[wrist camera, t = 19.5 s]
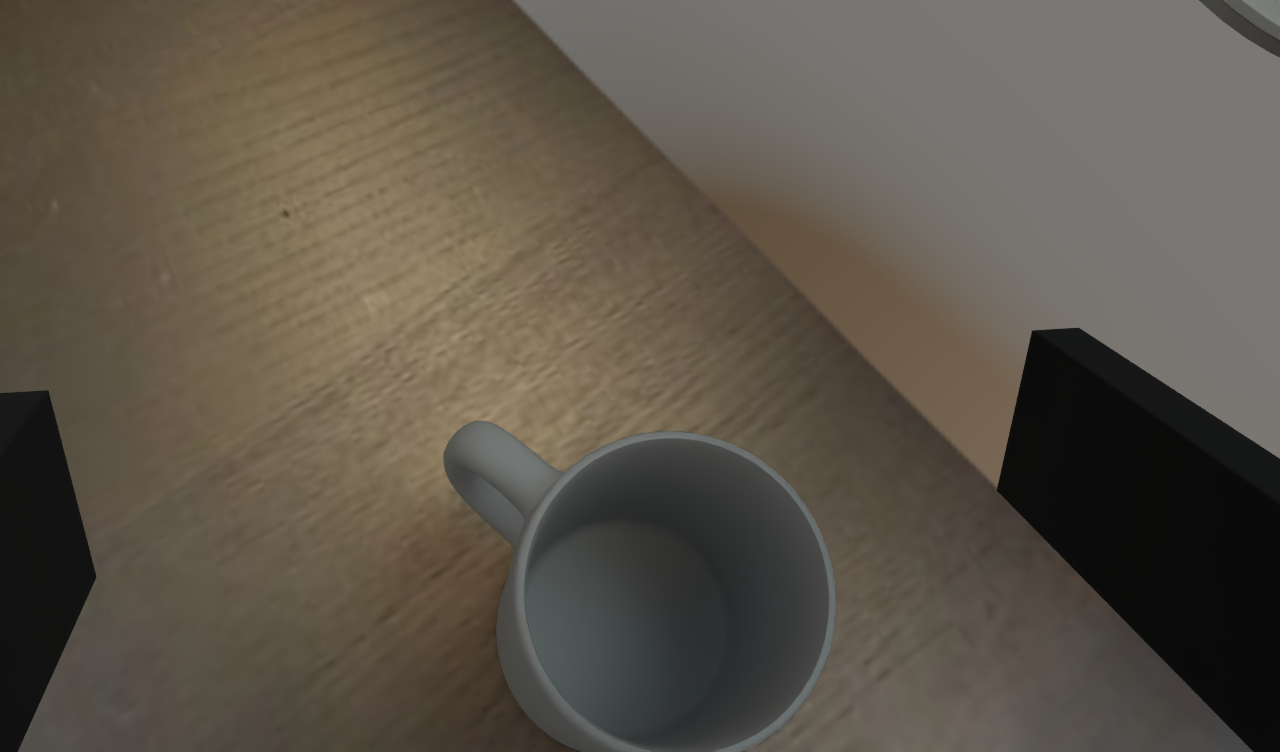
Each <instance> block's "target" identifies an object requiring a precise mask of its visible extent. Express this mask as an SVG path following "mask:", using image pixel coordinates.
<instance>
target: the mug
mask: <svg viewBox="0 0 1280 752" xmlns="http://www.w3.org/2000/svg"><path fill="white" fill-rule="evenodd" d="M443 458H444V467H445V471H446V474H447V477H448V479H449V480H450V482H451V484H452V486H453V487H454V489H455V490H456V491H457V493H458V494H459V495H460V496H461V497H462V499H463V500H464V501H465V502H466V503H467V504H468V505H469V506H470V507H471V508H472V509H473V510H474V511H475V512H476V513H477V514H478V515H479V516H480V517H482V518H483V519H484V520H485V521H486V522H487V523H488V524H489V525H491V526H492V527H493V528H494V529H495V530H496V531H497V532H498V533H500V534H501V535H502V536H503V537H504V538H505V539H506V540H507V541H508V542H509V543H510V544H511V545H512V546H513V547H514V549H515V552H514V556H513V560H512V562H511V565H510V568H509V572H508V576H507V579H506V583H505V585H504V588H503V592H502V595H501V599H500V603H499V608H498V615H497V628H496V639H497V648H498V655H499V659H500V663H501V667H502V671H503V674H504V676H505V679H506V681H507V684H508V687H509V688H510V690H511V692H512V694H513V696H514V698H515V699H516V701H517V703H518V704H519V705H520V707H521V708H522V709H523V711H524V712H525V713H526V715H527V716H528V717H529V718H530V719H531V720H532V721H533V722H534V723H535V724H536V725H537V726H538V727H539V728H540V729H541V730H543V731H544V732H545V733H546V734H548V735H549V736H550V737H552V738H553V739H555V740H557V741H558V742H560V743H562V744H563V745H565V746H567V747H570V748H572V749H574V750H577V751H579V752H745V751H747V750H748V749H750V748H752V747H754V746H756V745H758V744H760V743H761V742H763V741H764V740H766V739H767V738H769V737H770V736H771V735H773V734H774V733H776V732H777V731H778V730H779V729H780V728H781V727H782V726H783V725H785V724H786V723H787V722H788V721H789V720H790V719H791V718H792V717H793V716H794V715H795V713H796V712H797V711H798V710H799V708H800V707H801V706H802V705H803V703H804V702H805V701H806V700H807V698H808V696H809V695H810V693H811V691H812V690H813V688H814V686H815V685H816V683H817V681H818V679H819V677H820V675H821V672H822V670H823V668H824V666H825V663H826V661H827V657H828V654H829V650H830V647H831V643H832V639H833V632H834V626H835V619H836V591H835V580H834V573H833V569H832V564H831V560H830V556H829V553H828V550H827V547H826V544H825V541H824V538H823V536H822V534H821V532H820V530H819V528H818V525H817V523H816V521H815V519H814V517H813V516H812V514H811V513H810V511H809V510H808V508H807V506H806V505H805V503H804V502H803V500H802V499H801V498H800V497H799V495H798V494H797V493H796V492H795V490H794V489H793V488H792V487H791V486H790V484H789V483H788V482H786V481H785V480H784V479H783V478H782V477H781V476H780V475H779V474H778V473H777V472H776V471H775V470H774V469H772V468H771V467H770V466H768V465H767V464H766V463H764V462H763V461H762V460H760V459H759V458H758V457H756V456H754V455H752V454H751V453H749V452H747V451H745V450H744V449H742V448H740V447H738V446H735V445H733V444H730V443H728V442H726V441H723V440H720V439H717V438H713V437H709V436H706V435H702V434H695V433H689V432H682V431H659V432H650V433H641V434H637V435H633V436H629V437H625V438H622V439H619V440H617V441H614V442H611V443H609V444H606V445H604V446H602V447H600V448H598V449H596V450H595V451H593V452H591V453H589V454H587V455H586V456H584V457H583V458H582V459H580V460H579V461H578V462H576V463H575V464H574V465H572V466H571V467H570V468H568V469H567V470H566V471H565V472H561V471H558V470H557V469H555V468H554V467H552V466H551V465H550V464H548V463H547V462H546V461H544V460H543V459H542V458H541V457H540V456H538V455H537V454H536V453H535V452H533V451H532V450H531V449H530V448H528V447H527V446H526V445H525V444H523V443H522V442H521V441H520V440H518V439H517V438H516V437H514V436H513V435H512V434H510V433H509V432H507V431H506V430H504V429H503V428H501V427H499V426H498V425H496V424H493V423H491V422H487V421H473V422H471V423H469V424H467V425H465V426H463V427H462V428H460V429H459V430H458V431H457V432H456V433H455V434H454V435H453V437H452V438H451V439H450V440H449V442H448V444H447V446H446V449H445V451H444V457H443Z"/></svg>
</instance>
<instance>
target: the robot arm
mask: <svg viewBox="0 0 1280 752" xmlns="http://www.w3.org/2000/svg"><path fill="white" fill-rule="evenodd" d="M997 491H998V492H999V493H1000V494H1001V495H1002V496H1003V497H1004V498H1005V499H1006V500H1007V501H1008V502H1009V503H1010V504H1011V505H1012V506H1013V508H1014V509H1015V510H1016V511H1017V512H1018V513H1019V514H1020V515H1021V516H1022V517H1023V518H1024V519H1025V520H1026V521H1027V522H1028V523H1029V524H1030V525H1031V526H1032V527H1033V528H1034V529H1035V530H1036V531H1037V532H1038V533H1039V534H1040V535H1041V536H1042V537H1043V538H1044V539H1045V540H1046V541H1047V542H1048V543H1049V544H1050V545H1051V546H1052V547H1053V548H1054V549H1055V550H1056V551H1057V552H1058V553H1059V554H1060V555H1061V556H1062V557H1063V558H1064V559H1065V560H1066V561H1067V562H1068V563H1069V564H1070V565H1071V567H1072V568H1073V569H1074V570H1075V571H1076V572H1077V573H1078V574H1079V575H1080V576H1081V577H1082V578H1083V579H1084V580H1085V581H1086V582H1087V583H1088V584H1089V585H1090V586H1091V587H1092V588H1093V589H1094V590H1095V591H1096V592H1097V593H1098V594H1099V595H1100V596H1101V597H1102V598H1103V599H1104V600H1105V601H1106V602H1107V603H1108V604H1109V605H1110V606H1111V607H1112V608H1113V609H1114V610H1115V611H1116V612H1117V613H1118V614H1119V615H1120V616H1121V617H1122V618H1123V619H1124V620H1125V621H1126V622H1127V623H1128V624H1129V626H1130V627H1131V628H1132V629H1133V630H1134V631H1135V632H1136V633H1137V634H1138V635H1139V636H1140V637H1141V638H1142V639H1143V640H1144V641H1145V642H1146V643H1147V644H1148V645H1149V646H1150V647H1151V648H1152V649H1153V650H1154V651H1155V652H1156V653H1157V654H1158V655H1159V656H1160V657H1161V658H1162V659H1163V660H1164V661H1165V662H1166V663H1167V664H1168V665H1169V666H1170V667H1171V668H1172V669H1173V670H1174V671H1175V672H1176V673H1177V674H1178V675H1179V676H1180V677H1181V678H1182V679H1183V680H1184V681H1185V682H1186V683H1187V685H1188V686H1189V687H1190V688H1191V689H1192V690H1193V691H1194V692H1195V693H1196V694H1197V695H1198V696H1199V697H1200V698H1201V699H1202V700H1203V701H1204V702H1205V703H1206V704H1207V705H1208V706H1209V707H1210V708H1211V709H1212V710H1213V711H1214V712H1215V713H1216V714H1217V715H1218V716H1219V717H1220V718H1221V719H1222V720H1223V721H1224V722H1225V723H1226V724H1227V725H1228V726H1229V727H1230V728H1231V729H1232V730H1233V731H1234V732H1235V733H1236V734H1237V735H1238V736H1239V737H1240V738H1241V739H1242V740H1243V741H1244V743H1245V744H1246V745H1247V746H1248V747H1249V748H1250V749H1251V750H1252V751H1253V752H1280V459H1279V458H1278V457H1276V456H1275V455H1273V454H1272V453H1270V452H1269V451H1267V450H1265V449H1264V448H1262V447H1261V446H1259V445H1258V444H1256V443H1255V442H1253V441H1252V440H1250V439H1249V438H1247V437H1245V436H1244V435H1243V434H1241V433H1239V432H1238V431H1236V430H1235V429H1233V428H1232V427H1230V426H1229V425H1227V424H1226V423H1224V422H1222V421H1221V420H1219V419H1218V418H1216V417H1215V416H1213V415H1212V414H1210V413H1209V412H1207V411H1206V410H1204V409H1203V408H1201V407H1200V406H1198V405H1196V404H1195V403H1193V402H1192V401H1190V400H1189V399H1187V398H1186V397H1184V396H1183V395H1181V394H1180V393H1178V392H1176V391H1175V390H1173V389H1172V388H1170V387H1169V386H1167V385H1166V384H1164V383H1163V382H1161V381H1159V380H1158V379H1157V378H1155V377H1153V376H1152V375H1150V374H1149V373H1147V372H1146V371H1144V370H1143V369H1141V368H1140V367H1138V366H1137V365H1135V364H1133V363H1132V362H1130V361H1129V360H1127V359H1126V358H1124V357H1123V356H1121V355H1120V354H1118V353H1117V352H1115V351H1114V350H1112V349H1110V348H1109V347H1107V346H1106V345H1104V344H1103V343H1101V342H1100V341H1098V340H1097V339H1095V338H1093V337H1092V336H1090V335H1089V334H1087V333H1086V332H1084V331H1083V330H1081V329H1080V328H1068V329H1052V330H1035V331H1032V334H1031V338H1030V343H1029V347H1028V352H1027V356H1026V361H1025V366H1024V370H1023V375H1022V380H1021V384H1020V388H1019V393H1018V397H1017V402H1016V406H1015V411H1014V415H1013V420H1012V424H1011V429H1010V433H1009V438H1008V443H1007V447H1006V451H1005V456H1004V461H1003V465H1002V469H1001V474H1000V479H999V483H998V488H997ZM95 579H96V573H95V569H94V566H93V562H92V558H91V554H90V550H89V546H88V542H87V538H86V535H85V531H84V527H83V523H82V519H81V515H80V511H79V508H78V504H77V500H76V496H75V492H74V488H73V484H72V480H71V477H70V473H69V469H68V465H67V461H66V457H65V453H64V449H63V446H62V442H61V438H60V434H59V430H58V426H57V422H56V418H55V415H54V411H53V407H52V403H51V399H50V395H49V391H48V390H47V391H31V392H14V393H0V752H18V750H19V747H20V745H21V743H22V741H23V739H24V736H25V734H26V732H27V730H28V728H29V725H30V723H31V721H32V719H33V716H34V714H35V712H36V710H37V708H38V705H39V703H40V701H41V699H42V697H43V694H44V692H45V690H46V688H47V685H48V683H49V681H50V679H51V677H52V674H53V672H54V670H55V668H56V666H57V663H58V661H59V659H60V657H61V654H62V652H63V650H64V648H65V646H66V643H67V641H68V639H69V637H70V634H71V632H72V630H73V628H74V626H75V623H76V621H77V619H78V617H79V615H80V612H81V610H82V608H83V606H84V603H85V601H86V599H87V597H88V595H89V592H90V590H91V588H92V586H93V584H94V581H95Z"/></svg>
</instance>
